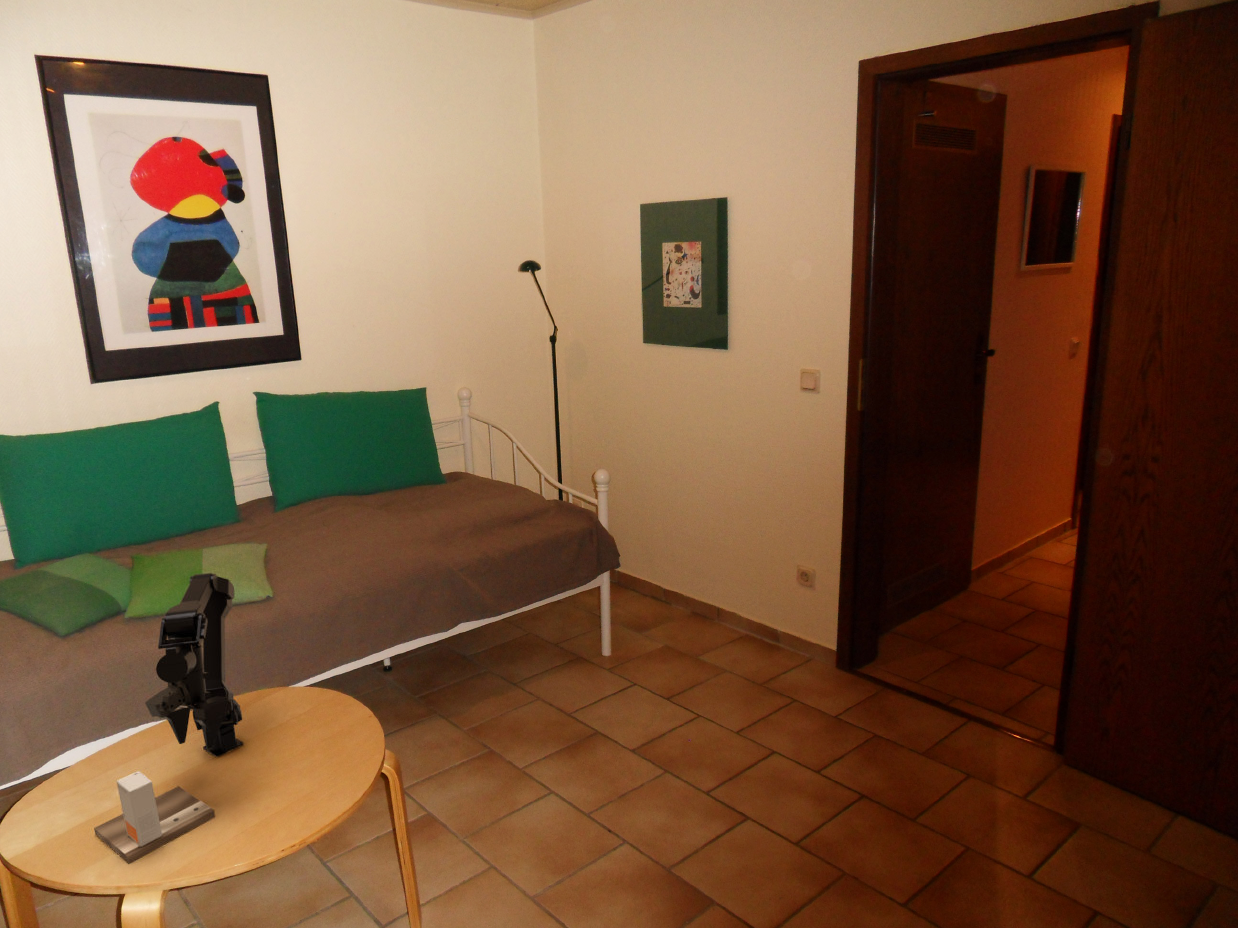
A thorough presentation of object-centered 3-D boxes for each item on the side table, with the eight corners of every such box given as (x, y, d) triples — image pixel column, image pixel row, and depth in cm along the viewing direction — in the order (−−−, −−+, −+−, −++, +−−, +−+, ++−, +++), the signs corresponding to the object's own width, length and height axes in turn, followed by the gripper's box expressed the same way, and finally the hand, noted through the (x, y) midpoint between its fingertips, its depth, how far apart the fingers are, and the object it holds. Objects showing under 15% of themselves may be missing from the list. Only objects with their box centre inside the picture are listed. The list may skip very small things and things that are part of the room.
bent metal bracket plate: (95, 834, 167) (93, 826, 167) (179, 792, 180) (178, 784, 180) (129, 863, 159) (127, 855, 158) (215, 816, 171) (213, 809, 171)
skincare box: (126, 835, 164) (115, 780, 161) (149, 823, 167) (139, 769, 165) (139, 848, 160) (128, 791, 158) (163, 835, 164) (153, 780, 161)
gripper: (123, 678, 174) (130, 754, 174) (178, 684, 164) (186, 764, 164) (175, 664, 183) (182, 736, 184) (230, 668, 174) (237, 745, 174)
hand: (195, 745), depth 176 cm, fingers open, 9 cm apart
